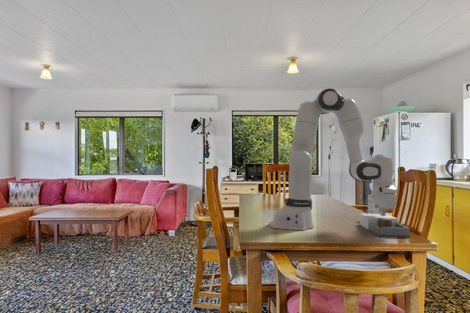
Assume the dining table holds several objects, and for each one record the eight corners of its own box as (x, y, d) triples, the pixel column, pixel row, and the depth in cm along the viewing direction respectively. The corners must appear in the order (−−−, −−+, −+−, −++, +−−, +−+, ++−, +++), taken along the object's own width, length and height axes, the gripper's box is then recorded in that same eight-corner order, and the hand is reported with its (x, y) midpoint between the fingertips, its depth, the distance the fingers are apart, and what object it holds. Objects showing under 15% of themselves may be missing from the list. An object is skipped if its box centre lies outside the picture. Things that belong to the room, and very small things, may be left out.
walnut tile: (378, 228, 154) (380, 230, 151) (378, 218, 154) (381, 219, 151) (388, 229, 153) (391, 230, 150) (389, 218, 153) (391, 220, 150)
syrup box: (374, 221, 176) (374, 195, 176) (367, 219, 182) (367, 194, 182) (382, 220, 177) (383, 195, 177) (375, 218, 183) (375, 194, 183)
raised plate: (368, 230, 154) (368, 217, 154) (360, 224, 166) (360, 213, 166) (397, 230, 153) (397, 218, 153) (387, 225, 165) (387, 214, 165)
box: (377, 236, 142) (378, 227, 142) (368, 230, 154) (368, 221, 154) (409, 237, 141) (409, 228, 141) (397, 230, 153) (397, 222, 153)
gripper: (368, 185, 165) (368, 211, 165) (384, 189, 145) (384, 219, 145) (380, 185, 165) (380, 212, 165) (398, 189, 145) (398, 219, 145)
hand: (382, 215), depth 155 cm, fingers closed
